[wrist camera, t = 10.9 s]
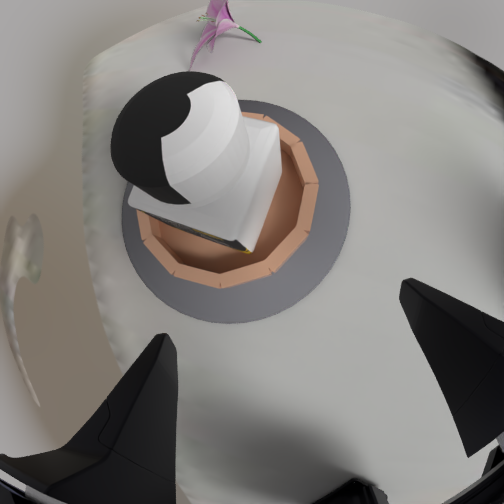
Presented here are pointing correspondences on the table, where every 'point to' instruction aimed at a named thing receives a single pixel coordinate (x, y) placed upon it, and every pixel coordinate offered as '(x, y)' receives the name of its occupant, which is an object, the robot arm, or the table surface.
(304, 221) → the terracotta bowl
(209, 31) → the lily
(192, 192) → the medicine bottle
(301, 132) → the rubber mat
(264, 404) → the table surface
